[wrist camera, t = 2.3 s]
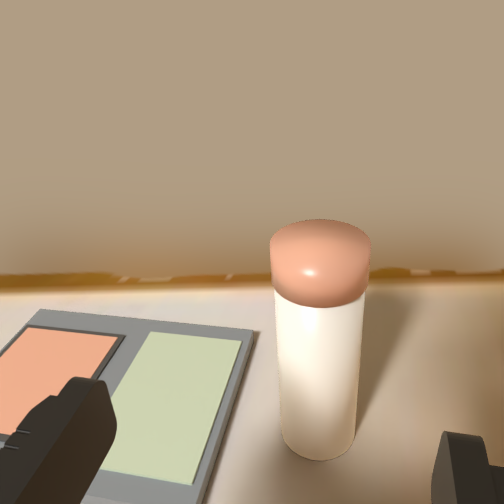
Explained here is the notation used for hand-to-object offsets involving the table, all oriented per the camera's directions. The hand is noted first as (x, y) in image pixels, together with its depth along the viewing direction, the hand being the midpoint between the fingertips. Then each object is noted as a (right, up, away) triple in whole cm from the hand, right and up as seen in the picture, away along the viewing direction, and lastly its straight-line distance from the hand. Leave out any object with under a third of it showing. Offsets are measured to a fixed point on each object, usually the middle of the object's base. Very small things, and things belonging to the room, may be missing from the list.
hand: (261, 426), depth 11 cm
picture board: (-10, -6, +21) cm, 24 cm away
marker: (+4, -6, +17) cm, 19 cm away
